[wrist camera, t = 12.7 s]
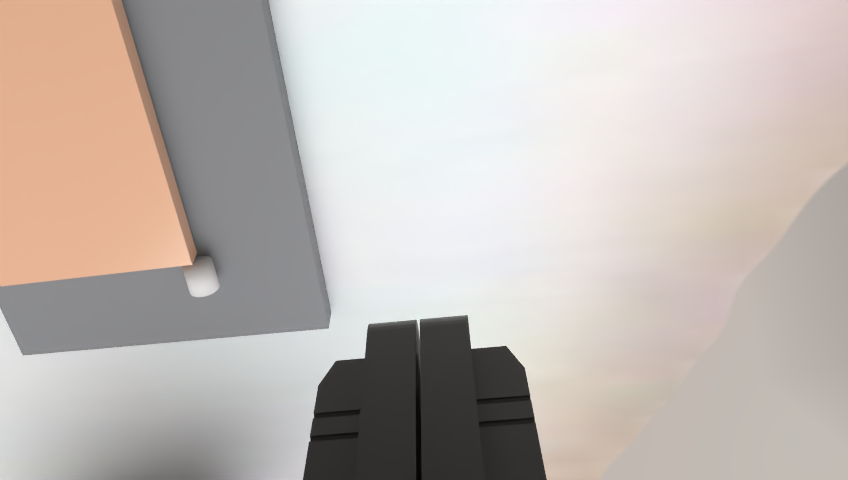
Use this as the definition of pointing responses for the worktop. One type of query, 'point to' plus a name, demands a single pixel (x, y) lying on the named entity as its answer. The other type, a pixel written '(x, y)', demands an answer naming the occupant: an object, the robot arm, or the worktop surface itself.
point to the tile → (81, 149)
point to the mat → (202, 198)
